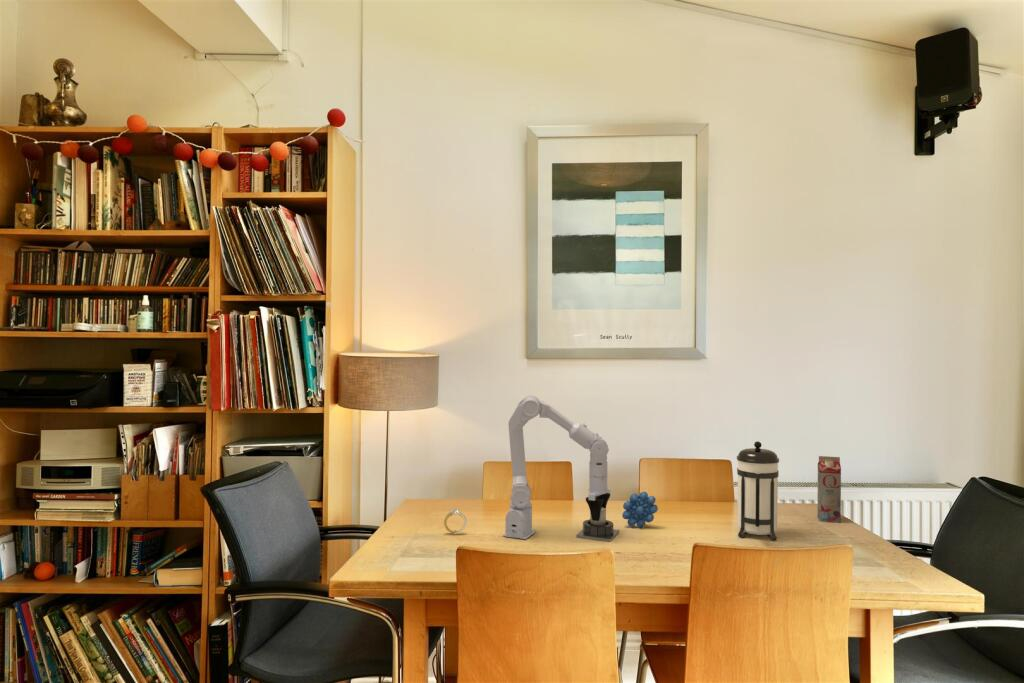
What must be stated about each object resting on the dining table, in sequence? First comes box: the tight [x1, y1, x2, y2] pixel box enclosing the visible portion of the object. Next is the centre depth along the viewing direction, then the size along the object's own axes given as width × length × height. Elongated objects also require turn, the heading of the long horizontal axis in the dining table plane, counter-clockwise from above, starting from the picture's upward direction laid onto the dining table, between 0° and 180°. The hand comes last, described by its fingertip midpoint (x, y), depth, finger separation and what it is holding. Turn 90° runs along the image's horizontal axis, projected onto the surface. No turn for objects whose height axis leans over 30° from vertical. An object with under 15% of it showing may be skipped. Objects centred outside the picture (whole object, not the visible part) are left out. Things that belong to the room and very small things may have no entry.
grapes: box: [621, 491, 659, 528], centre depth 227 cm, size 12×7×12 cm, turn 81°
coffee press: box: [736, 440, 780, 542], centre depth 216 cm, size 17×16×30 cm
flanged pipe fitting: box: [575, 519, 620, 543], centre depth 217 cm, size 11×11×4 cm
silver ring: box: [443, 508, 467, 535], centre depth 217 cm, size 7×3×8 cm, turn 84°
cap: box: [589, 507, 607, 526], centre depth 217 cm, size 5×5×5 cm
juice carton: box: [816, 455, 842, 524], centre depth 236 cm, size 7×7×22 cm
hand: (598, 518), depth 217 cm, fingers closed on cap, 5 cm apart
